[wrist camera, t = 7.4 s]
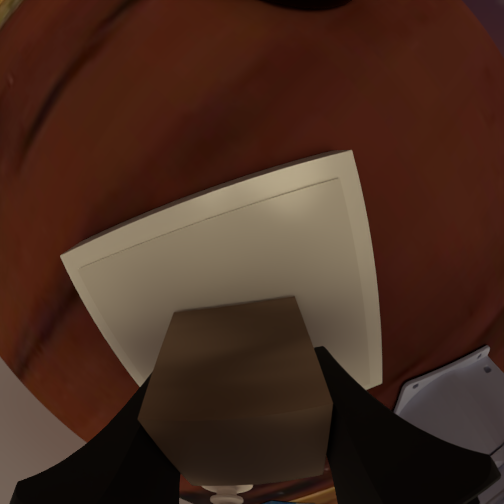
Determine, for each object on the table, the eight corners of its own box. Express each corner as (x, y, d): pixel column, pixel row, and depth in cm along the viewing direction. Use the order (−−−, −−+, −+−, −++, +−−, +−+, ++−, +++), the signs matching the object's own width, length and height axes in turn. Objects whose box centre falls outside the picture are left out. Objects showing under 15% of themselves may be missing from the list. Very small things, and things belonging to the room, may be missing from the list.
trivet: (333, 150, 10) (354, 150, 8) (369, 361, 14) (383, 386, 12) (81, 241, 11) (56, 257, 9) (184, 409, 15) (180, 436, 13)
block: (294, 296, 10) (332, 403, 5) (299, 380, 11) (322, 474, 7) (173, 312, 10) (137, 418, 5) (202, 391, 11) (192, 485, 7)
